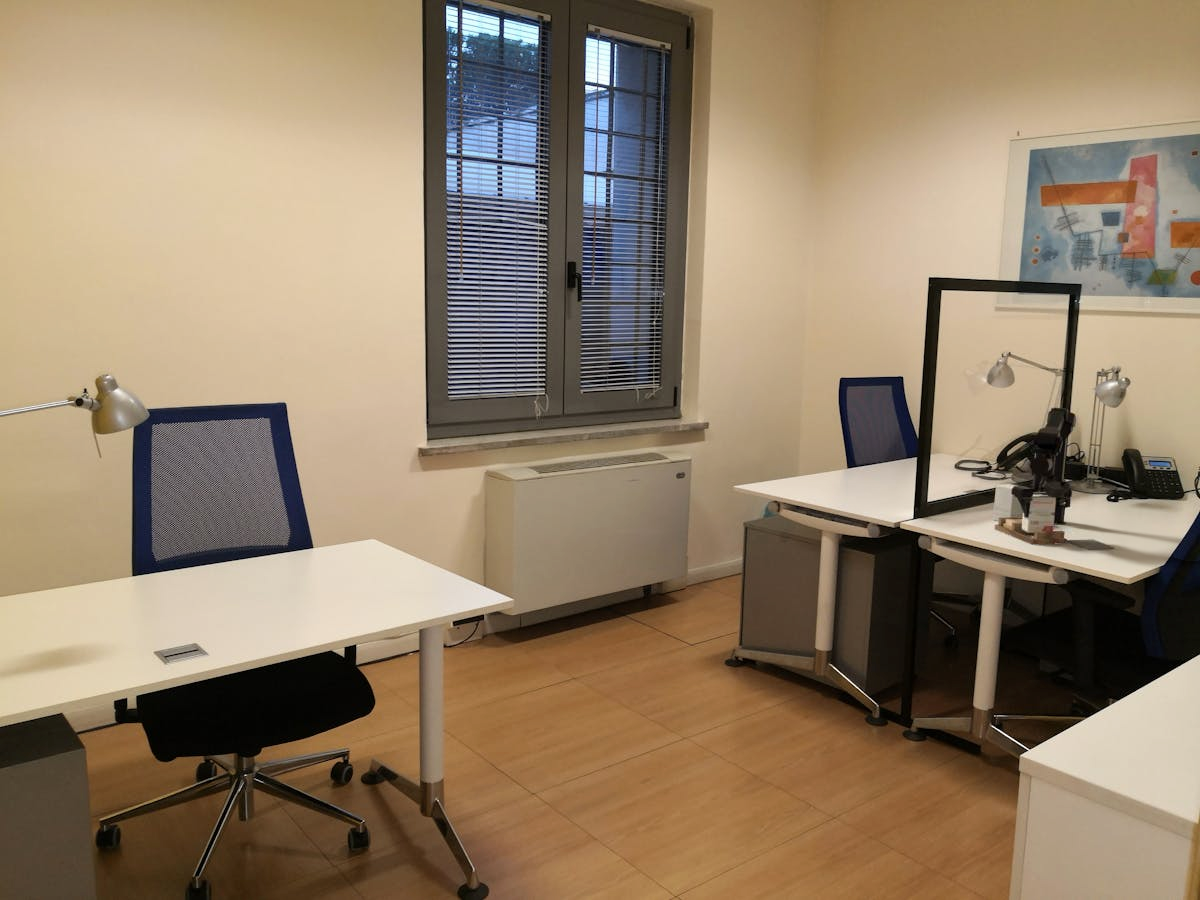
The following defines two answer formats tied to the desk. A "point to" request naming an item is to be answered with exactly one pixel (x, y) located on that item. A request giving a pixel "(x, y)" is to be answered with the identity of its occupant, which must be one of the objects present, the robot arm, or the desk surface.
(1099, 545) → the dark grey mat
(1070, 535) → the desk surface
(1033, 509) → the ink box
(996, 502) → the supplement box
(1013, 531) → the walnut rack
